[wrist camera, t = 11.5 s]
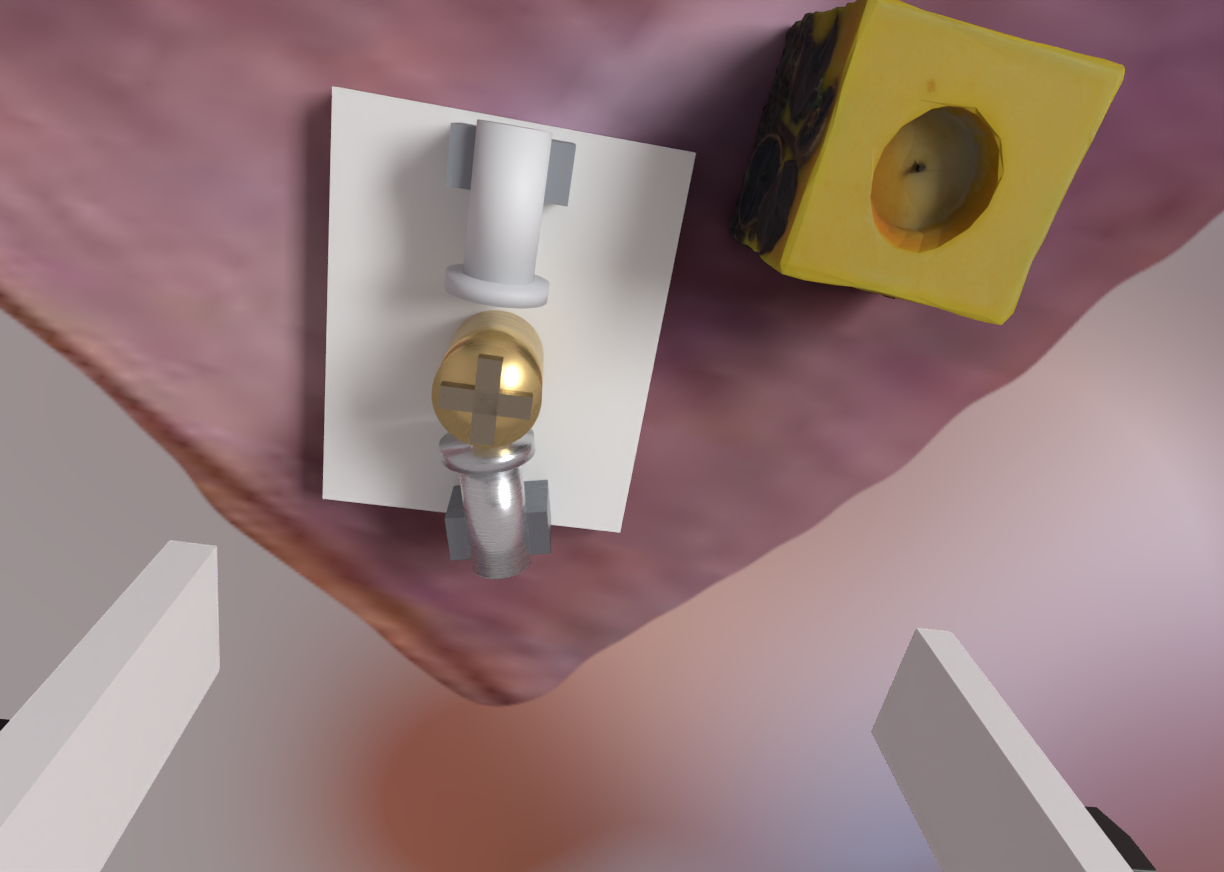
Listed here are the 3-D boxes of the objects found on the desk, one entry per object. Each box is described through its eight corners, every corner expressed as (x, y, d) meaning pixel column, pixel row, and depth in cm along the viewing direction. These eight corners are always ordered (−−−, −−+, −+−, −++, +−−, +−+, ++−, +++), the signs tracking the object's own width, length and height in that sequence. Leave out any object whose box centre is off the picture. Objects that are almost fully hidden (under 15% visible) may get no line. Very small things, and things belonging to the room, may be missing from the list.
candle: (988, 75, 35) (1140, 59, 26) (906, 282, 39) (1014, 333, 30) (787, 14, 33) (874, -25, 24) (722, 237, 37) (776, 275, 28)
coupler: (454, 303, 35) (433, 342, 29) (549, 317, 36) (548, 357, 30) (446, 392, 37) (425, 446, 31) (537, 404, 38) (534, 459, 32)
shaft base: (344, 88, 33) (287, 79, 26) (688, 151, 35) (721, 159, 28) (333, 481, 41) (286, 557, 34) (617, 514, 43) (629, 592, 36)
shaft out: (443, 414, 38) (425, 461, 32) (541, 408, 38) (539, 454, 33) (459, 529, 40) (445, 590, 35) (551, 523, 41) (550, 583, 35)
